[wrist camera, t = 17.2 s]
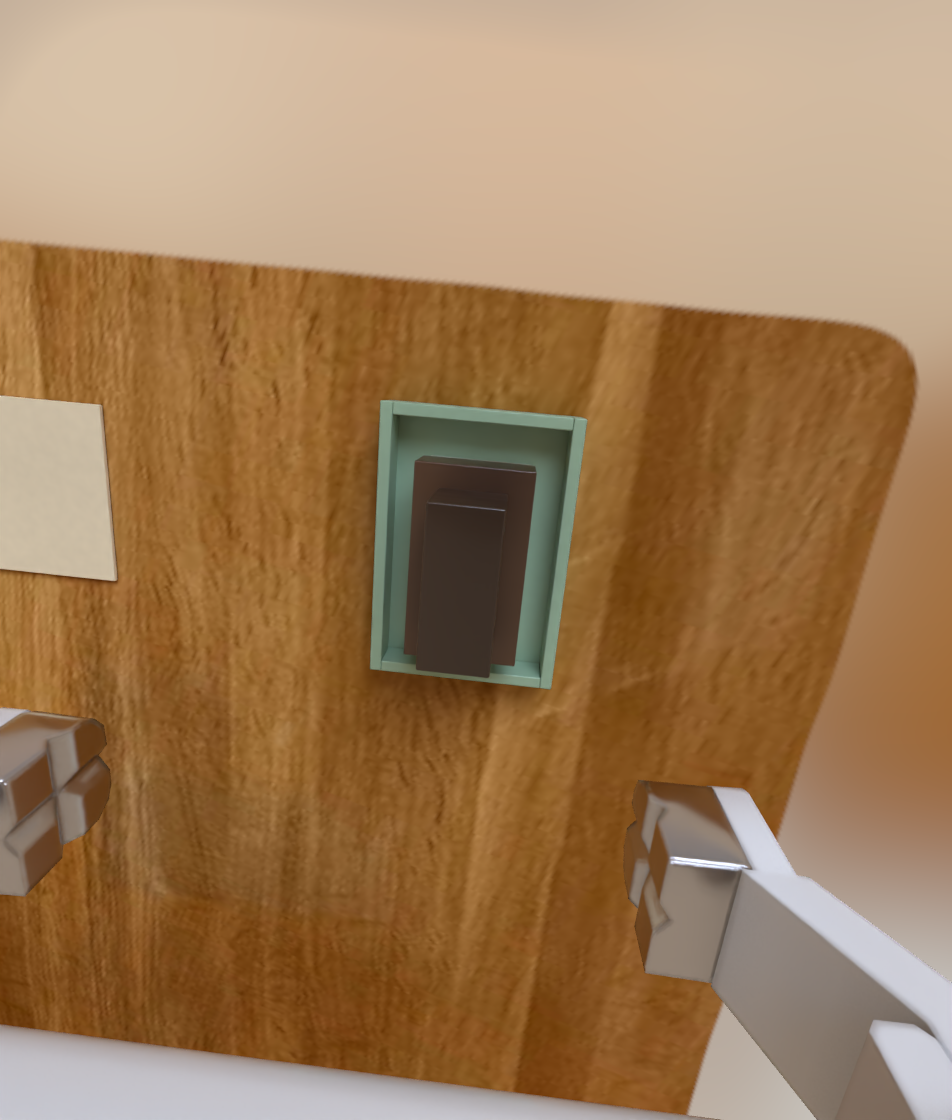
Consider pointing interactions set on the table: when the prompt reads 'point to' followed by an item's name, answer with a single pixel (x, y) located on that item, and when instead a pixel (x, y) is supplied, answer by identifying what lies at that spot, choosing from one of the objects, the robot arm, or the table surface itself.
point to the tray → (558, 471)
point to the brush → (467, 563)
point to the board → (55, 489)
